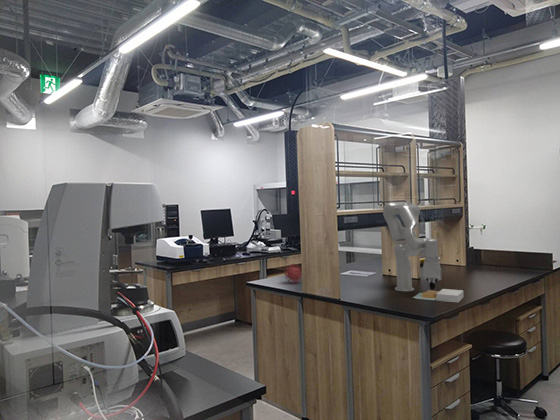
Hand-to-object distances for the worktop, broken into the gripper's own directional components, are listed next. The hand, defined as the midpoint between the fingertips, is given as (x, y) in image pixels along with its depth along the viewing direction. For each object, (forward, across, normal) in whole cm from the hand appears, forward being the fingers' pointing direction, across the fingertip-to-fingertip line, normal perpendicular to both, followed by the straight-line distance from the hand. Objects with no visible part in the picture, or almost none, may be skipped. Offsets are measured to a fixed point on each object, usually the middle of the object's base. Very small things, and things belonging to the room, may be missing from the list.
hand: (432, 289), depth 253 cm
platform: (+5, -10, 0) cm, 11 cm away
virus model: (+5, +104, -7) cm, 104 cm away
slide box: (+3, +1, 0) cm, 4 cm away
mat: (+5, +4, 0) cm, 6 cm away
